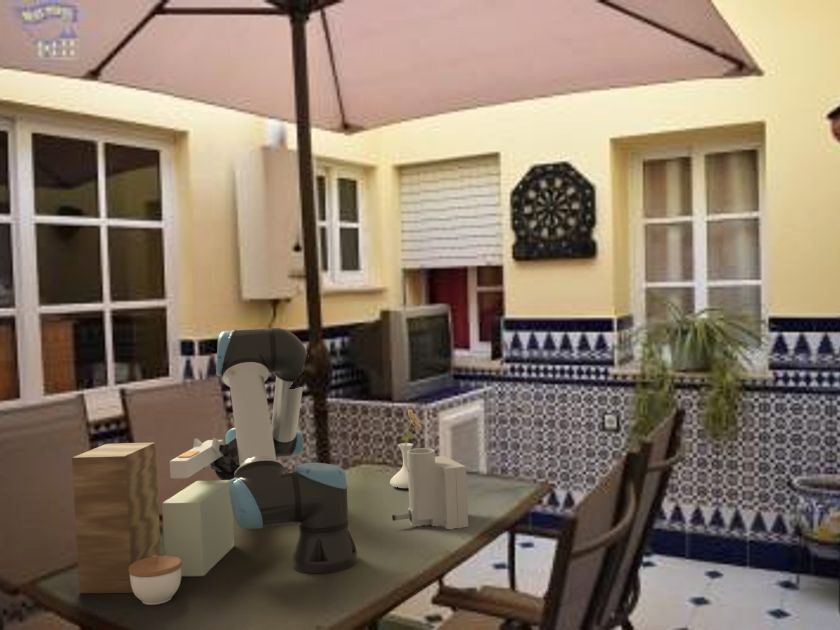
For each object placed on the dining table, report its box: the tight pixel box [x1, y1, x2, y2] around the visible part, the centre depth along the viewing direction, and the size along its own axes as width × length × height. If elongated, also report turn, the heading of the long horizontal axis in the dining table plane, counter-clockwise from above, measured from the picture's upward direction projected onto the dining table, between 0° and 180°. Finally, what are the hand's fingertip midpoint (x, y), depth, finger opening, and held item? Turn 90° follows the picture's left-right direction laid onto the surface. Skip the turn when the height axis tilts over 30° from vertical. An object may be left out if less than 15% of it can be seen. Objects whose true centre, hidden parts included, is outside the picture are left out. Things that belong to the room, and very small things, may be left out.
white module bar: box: [169, 439, 224, 479], centre depth 199 cm, size 25×4×4 cm, turn 175°
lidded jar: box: [129, 555, 182, 606], centre depth 173 cm, size 11×11×9 cm
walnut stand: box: [71, 442, 162, 594], centre depth 186 cm, size 16×13×30 cm
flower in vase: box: [389, 408, 423, 489], centre depth 265 cm, size 13×11×25 cm
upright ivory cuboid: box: [161, 479, 235, 577], centre depth 198 cm, size 22×9×17 cm, turn 175°
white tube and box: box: [391, 447, 469, 530], centre depth 221 cm, size 16×19×20 cm
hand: (204, 443), depth 203 cm, fingers closed on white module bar, 4 cm apart
